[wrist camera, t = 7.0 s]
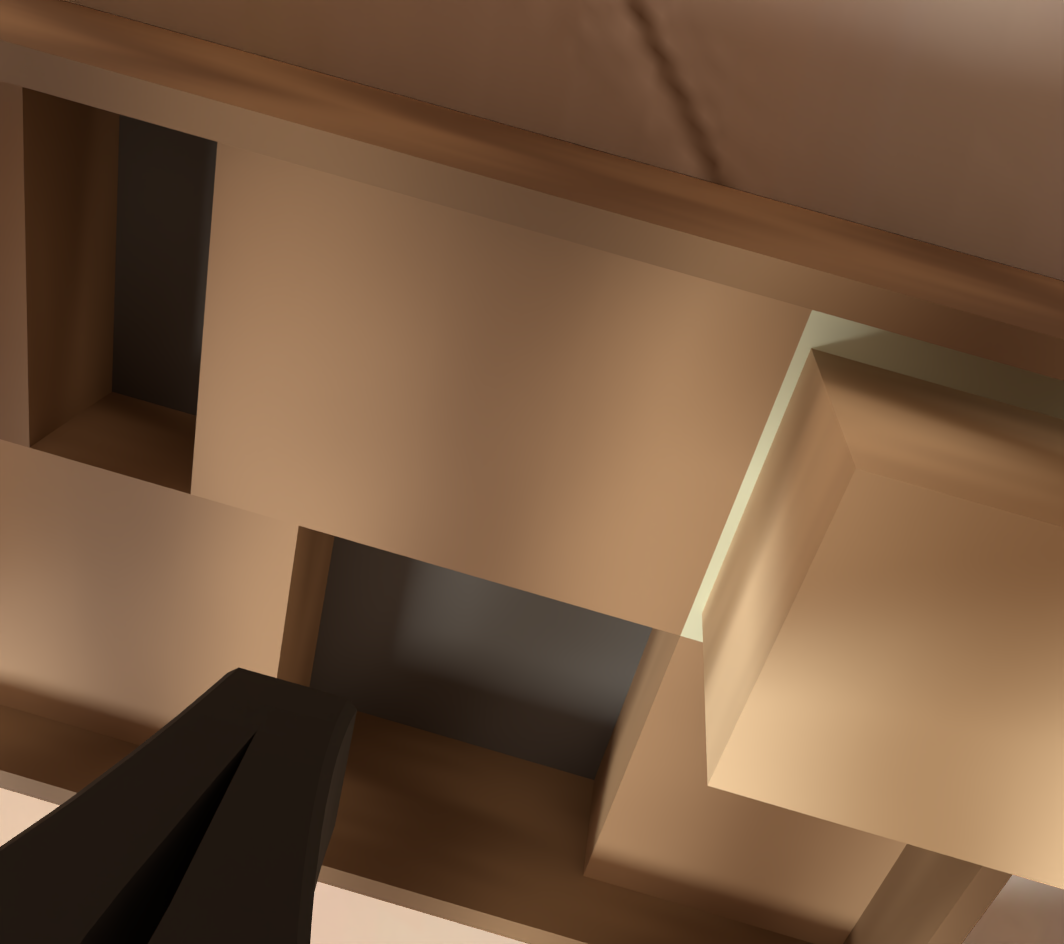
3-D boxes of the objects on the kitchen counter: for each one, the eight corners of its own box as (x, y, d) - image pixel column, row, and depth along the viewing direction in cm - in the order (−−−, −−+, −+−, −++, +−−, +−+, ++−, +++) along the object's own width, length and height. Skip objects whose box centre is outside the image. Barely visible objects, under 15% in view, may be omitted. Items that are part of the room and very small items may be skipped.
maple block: (701, 612, 16) (708, 785, 12) (811, 347, 14) (855, 468, 10) (982, 693, 16) (1067, 890, 12) (1140, 441, 14) (1302, 595, 10)
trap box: (32, 622, 22) (-127, 774, 18) (20, -12, 16) (-235, -18, 11) (831, 856, 22) (869, 1068, 18) (1155, 306, 16) (1342, 427, 11)
